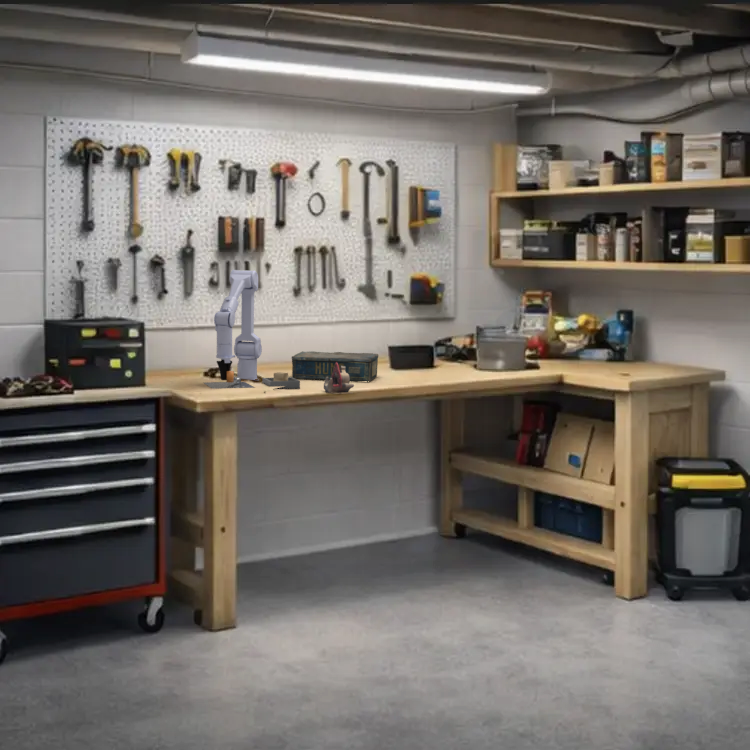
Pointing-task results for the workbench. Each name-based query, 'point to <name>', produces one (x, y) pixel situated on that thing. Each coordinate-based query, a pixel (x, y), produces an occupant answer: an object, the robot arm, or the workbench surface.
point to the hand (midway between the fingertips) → (224, 379)
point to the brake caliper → (338, 381)
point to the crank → (232, 378)
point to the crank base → (225, 385)
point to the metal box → (324, 362)
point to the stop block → (280, 376)
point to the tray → (282, 383)
